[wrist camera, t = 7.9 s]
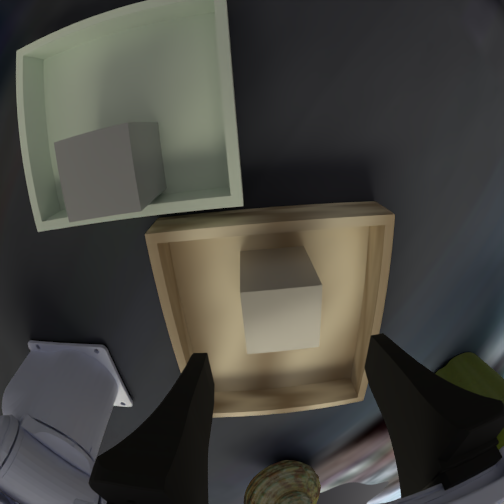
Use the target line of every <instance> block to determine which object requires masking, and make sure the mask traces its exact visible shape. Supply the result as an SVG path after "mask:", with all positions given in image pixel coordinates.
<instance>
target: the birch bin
mask: <svg viewBox="0 0 504 504" xmlns="http://www.w3.org/2000/svg"><path fill="white" fill-rule="evenodd" d="M394 220H395V214H394V213H392V212H391V211H389V210H388V209H386V208H385V207H383V206H382V205H380V204H378V203H377V202H375V201H365V202H344V203H326V204H309V205H294V206H280V207H267V208H254V209H242V210H231V211H220V212H210V213H200V214H190V215H180V216H171V217H162V218H158V219H157V220H156V221H155V222H154V224H153V225H152V226H151V227H150V228H149V230H148V231H147V232H146V233H145V238H146V243H147V248H148V252H149V257H150V261H151V266H152V270H153V274H154V279H155V283H156V287H157V291H158V295H159V299H160V303H161V307H162V310H163V314H164V318H165V321H166V325H167V329H168V332H169V336H170V339H171V342H172V346H173V349H174V352H175V356H176V359H177V362H178V365H179V369H180V372H181V373H182V371H183V370H184V368H185V366H186V364H187V363H188V361H189V359H190V357H191V355H192V354H193V353H207V354H208V358H209V363H210V367H211V371H212V375H213V380H214V384H215V388H214V410H213V417H238V416H254V415H267V414H278V413H288V412H296V411H304V410H311V409H318V408H325V407H331V406H337V405H343V404H348V403H353V402H358V401H363V399H364V396H365V392H366V388H367V384H368V379H367V376H366V372H365V368H364V366H365V362H366V357H367V352H368V347H369V342H370V337H371V335H376V334H379V331H380V326H381V321H382V315H383V309H384V303H385V297H386V291H387V284H388V277H389V269H390V261H391V252H392V243H393V232H394ZM297 246H304V248H305V250H306V252H307V254H308V256H309V258H310V260H311V262H312V264H313V266H314V268H315V270H316V273H317V275H318V277H319V279H320V281H321V283H322V306H321V325H320V341H319V347H314V348H306V349H297V350H288V351H278V352H267V353H256V354H247V349H246V340H245V332H244V323H243V315H242V306H241V297H240V251H249V250H261V249H273V248H285V247H297Z"/></svg>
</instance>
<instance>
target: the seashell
mask: <svg viewBox="0 0 504 504" xmlns="http://www.w3.org/2000/svg"><path fill="white" fill-rule="evenodd" d="M320 488H321V485H320V482H319V477H318V475H317V474H316V473H315V471H314V470H313V468H312V467H310V466H309V465H307V464H304V463H302V462H299V461H295V460H284V461H280V462H277V463H274V464H272V465H270V466H268V467H266V468H265V469H264V470H262V471H261V472H259V473H258V474H257V475H256V476H255V477H254V478H253V479H252V480H251V482H250V483H249V485H248V487H247V489H246V492H245V496H244V504H316V503H317V500H318V498H319V494H320Z"/></svg>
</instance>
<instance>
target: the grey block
mask: <svg viewBox="0 0 504 504" xmlns="http://www.w3.org/2000/svg"><path fill="white" fill-rule="evenodd" d="M54 147H55V154H56V160H57V166H58V172H59V178H60V183H61V188H62V193H63V198H64V202H65V207H66V211H67V215H68V220H69V222H75V221H81V220H87V219H93V218H99V217H106V216H112V215H119V214H126V213H133V212H140V211H142V210H143V209H144V208H145V207H147V206H148V205H149V204H150V203H151V202H152V201H153V200H154V199H155V198H156V197H157V196H159V195H160V194H161V193H162V192H163V191H164V190H165V189H166V188H167V186H166V179H165V173H164V166H163V158H162V151H161V143H160V135H159V127H158V122H127V123H122V124H118V125H114V126H110V127H106V128H102V129H98V130H94V131H91V132H87V133H84V134H80V135H77V136H73V137H70V138H67V139H63V140H60V141H57V142H54Z"/></svg>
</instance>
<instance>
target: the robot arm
mask: <svg viewBox="0 0 504 504" xmlns="http://www.w3.org/2000/svg"><path fill="white" fill-rule="evenodd" d="M28 346H29V348H30V350H31V351H30V353H29V354H28V356H27V357H26V359H25V360H24V361H23V363H22V364H21V366H20V367H19V369H18V370H17V372H16V373H15V375H14V376H13V378H12V379H11V381H10V382H9V384H8V385H7V387H6V389H5V391H4V394H3V400H2V411H3V415H2V416H0V490H1V491H2V492H4V493H5V494H7V495H8V496H10V497H11V498H13V499H14V500H16V501H17V502H19V503H20V504H208V446H209V438H210V431H211V424H212V417H213V410H214V388H215V384H214V380H213V375H212V371H211V367H210V363H209V358H208V354H207V353H193V354H192V355H191V357H190V359H189V361H188V363H187V364H186V366H185V368H184V370H183V371H182V373H181V375H180V376H179V378H178V379H177V381H176V383H175V384H174V386H173V387H172V389H171V390H170V392H169V393H168V394H167V396H166V397H165V398H164V400H163V401H162V402H161V404H160V405H159V406H158V407H157V408H156V410H155V411H154V412H153V413H152V414H151V415H150V416H149V417H148V418H147V419H146V420H145V421H144V422H143V423H142V424H141V425H140V426H139V427H138V428H137V429H136V430H135V431H134V432H133V433H131V434H130V435H129V436H128V437H126V438H125V439H124V440H123V441H121V442H120V443H119V444H117V445H116V446H114V447H113V448H111V449H110V450H108V451H106V452H105V453H103V454H101V455H100V456H98V457H97V459H96V456H97V453H98V450H99V447H100V444H101V441H102V438H103V435H104V432H105V429H106V426H107V423H108V420H109V417H110V414H111V411H112V408H113V406H124V407H131V406H132V405H133V401H132V399H131V397H130V395H129V394H128V392H127V390H126V388H125V386H124V384H123V382H122V379H121V377H120V375H119V373H118V371H117V369H116V367H115V365H114V362H113V360H112V358H111V356H110V354H109V351H108V349H107V347H105V346H104V345H101V344H76V343H59V342H45V341H33V340H30V341H29V342H28ZM96 349H97V350H96ZM364 368H365V372H366V376H367V379H368V382H369V386H370V388H371V391H372V393H373V395H374V398H375V400H376V402H377V404H378V407H379V409H380V411H381V414H382V416H383V418H384V421H385V423H386V426H387V428H388V432H389V435H390V439H391V442H392V446H393V450H394V455H395V459H396V464H397V470H398V475H399V482H400V490H401V499H398V500H395V501H391V502H388V503H385V504H501V503H502V502H504V446H503V447H502V448H500V449H499V450H498V448H497V446H496V445H498V444H499V441H498V439H497V436H498V434H499V433H500V432H501V431H502V429H503V428H504V403H503V402H502V401H501V400H497V399H493V398H489V397H485V396H482V395H479V394H476V393H473V392H470V391H468V390H465V389H463V388H461V387H459V386H456V385H454V384H452V383H450V382H448V381H447V380H445V379H443V378H441V377H440V376H438V375H436V374H435V373H433V372H432V371H430V370H429V369H427V368H426V367H424V366H423V365H422V364H420V363H419V362H418V361H416V360H415V359H414V358H412V357H411V356H410V355H409V354H407V353H406V352H405V351H404V350H402V349H401V348H400V347H399V346H398V345H396V344H395V343H394V342H393V341H392V340H391V339H389V338H388V337H387V336H386V335H384V334H383V333H382V334H376V335H371V337H370V342H369V347H368V352H367V357H366V362H365V366H364ZM95 460H96V461H95ZM2 492H0V504H18V503H17V502H15V501H14V500H12V499H11V498H9V497H8V496H6V495H5V494H3V493H2Z"/></svg>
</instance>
